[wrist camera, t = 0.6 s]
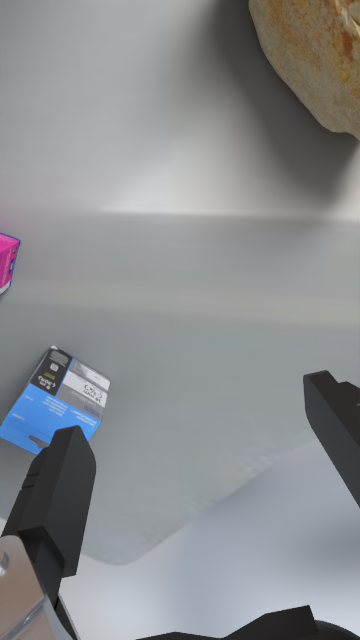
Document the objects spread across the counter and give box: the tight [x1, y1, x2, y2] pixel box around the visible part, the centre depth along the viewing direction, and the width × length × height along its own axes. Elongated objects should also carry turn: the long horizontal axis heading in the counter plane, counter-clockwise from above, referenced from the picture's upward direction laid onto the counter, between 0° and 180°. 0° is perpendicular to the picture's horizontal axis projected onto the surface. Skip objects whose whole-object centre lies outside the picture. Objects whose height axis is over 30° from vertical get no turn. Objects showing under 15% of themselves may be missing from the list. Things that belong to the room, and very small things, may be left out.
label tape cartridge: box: [0, 345, 110, 455], centre depth 37 cm, size 9×4×12 cm, turn 51°
